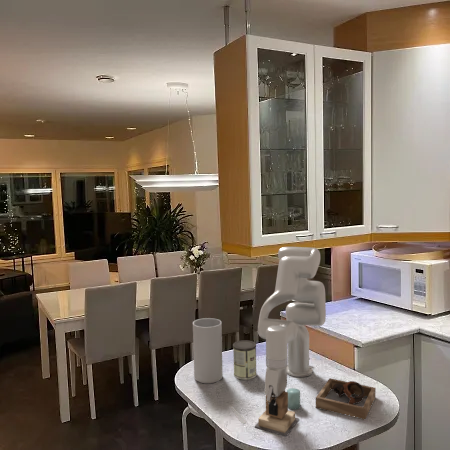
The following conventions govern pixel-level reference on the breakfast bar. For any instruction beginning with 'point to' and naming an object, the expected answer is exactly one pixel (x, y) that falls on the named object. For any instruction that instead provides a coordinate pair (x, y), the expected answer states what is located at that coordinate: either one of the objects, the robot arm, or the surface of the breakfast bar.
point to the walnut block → (279, 405)
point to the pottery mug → (349, 391)
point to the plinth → (277, 423)
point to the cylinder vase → (207, 350)
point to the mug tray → (341, 406)
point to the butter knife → (238, 416)
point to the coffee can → (244, 359)
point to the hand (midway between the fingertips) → (277, 409)
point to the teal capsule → (293, 398)
